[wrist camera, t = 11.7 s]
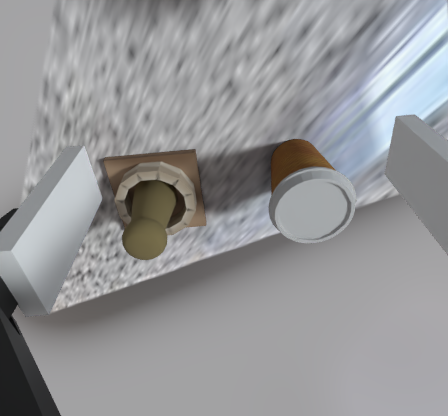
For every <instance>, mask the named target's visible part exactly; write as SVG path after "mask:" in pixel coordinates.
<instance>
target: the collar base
mask: <svg viewBox="0 0 448 416" xmlns="http://www.w3.org/2000/svg"><path fill="white" fill-rule="evenodd" d="M103 162H104V165H105V168H106V171H107V174H108V177H109V180H110V184H111V187H112V190H113V193H114V196H115V200H114V201H115V204H116V207H117V210H118V213H119V216H120V218H121V219H122V221H123V224H124V227H126V226H127V225H128V224H129V223H130V222H131V215H132V206H133V196H134V190H135V187H136V185H137V184H138V183H139V182H140V181H144V180H156V179H158V180H161V181H164V182H166V183H169V184H172V185H173V186H174V187H175V189H176V191H177V194H178V197H177V202H176V205H175V207H174V210H173V212H172V215H171V217H170V220H169V222H168V224H167V227H166V229H165V230H166V233H167V235H173V234H175V233H177V232H178V231H180V230H182V229H184V228H185V227H196V226H206V217H205V210H204V204H203V197H202V190H201V184H200V177H199V170H198V164H197V157H196V150H195V149H192V150H181V151H170V152H160V153H149V154H138V155H127V156H116V157H105V159H104V161H103Z"/></svg>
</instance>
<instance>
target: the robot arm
mask: <svg viewBox="0 0 448 416" xmlns="http://www.w3.org/2000/svg"><path fill="white" fill-rule="evenodd" d="M385 175H386V177H387V178H388V179H389V180H390V182H391V183H392V184H393V186H394V187H395V188H396V189H397V191H398V192H399V193H400V195H401V196H402V197H403V198H404V200H405V201H406V202H407V203H408V205H409V206H410V207H411V208H412V210H413V211H414V212H415V214H416V215H417V216H418V218H419V219H420V220H421V221H422V223H423V224H424V225H425V226H426V228H427V229H428V230H429V232H430V233H431V234H432V235H433V237H434V238H435V239H436V241H437V242H438V243H439V244H440V246H441V247H442V248H443V250H444V251H445V252H446V253H447V255H448V140H446V139H445V138H444V137H443V136H441V135H440V134H439V133H438V132H436V131H435V130H434V129H433V128H431V127H430V126H429V125H427V124H426V123H425V122H424V121H422V120H421V119H420V118H419V117H417V116H416V115H404V116H396V119H395V124H394V129H393V134H392V139H391V144H390V149H389V154H388V159H387V164H386V169H385ZM101 201H102V196H101V193H100V190H99V187H98V184H97V181H96V178H95V175H94V173H93V170H92V167H91V164H90V161H89V158H88V155H87V152H86V150H85V147H84V145H82V146H71V147H66V148H65V149H64V151H63V152H62V153H61V155H60V156H59V157H58V158H57V160H56V161H55V162H54V164H53V165H52V166H51V167H50V169H49V170H48V171H47V173H46V174H45V175H44V176H43V178H42V179H41V180H40V182H39V183H38V184H37V185H36V187H35V188H34V189H33V190H32V192H31V193H30V194H29V196H28V197H27V198H26V199H25V201H24V202H23V203H22V205H21V206H20V207H19V208H17V209H13V210H11V211H10V212H9V213H7V214H6V215H4V216H3V217H2V218H1V219H0V416H61V415H60V413H59V411H58V409H57V406H56V404H55V402H54V400H53V398H52V396H51V394H50V392H49V390H48V388H47V386H46V383H45V381H44V379H43V377H42V375H41V373H40V371H39V369H38V367H37V365H36V363H35V360H34V358H33V356H32V354H31V352H30V350H29V348H28V346H27V344H26V342H25V340H24V337H23V335H22V333H21V331H20V329H19V327H18V325H17V323H16V321H15V319H14V318H13V317H12V313H13V312H14V310H15V308H16V306H17V305H18V306H19V308H20V309H21V311H22V312H23V314H24V315H25V317H29V316H41V315H49V314H50V311H51V309H52V307H53V305H54V303H55V301H56V298H57V296H58V294H59V292H60V290H61V288H62V286H63V283H64V281H65V279H66V277H67V275H68V273H69V270H70V268H71V266H72V264H73V262H74V260H75V257H76V255H77V253H78V251H79V249H80V247H81V244H82V242H83V240H84V238H85V236H86V234H87V231H88V229H89V227H90V225H91V223H92V221H93V219H94V216H95V214H96V212H97V210H98V208H99V206H100V203H101Z"/></svg>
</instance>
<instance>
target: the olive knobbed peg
mask: <svg viewBox="0 0 448 416" xmlns="http://www.w3.org/2000/svg"><path fill="white" fill-rule="evenodd" d="M177 197H178V194H177V191H176V189H175V187H174V186H173V185H172V184H169V183H166V182H164V181H161V180H158V179H156V180H144V181H140V182H139V183H138V184H137V185H136V187H135V190H134V196H133V206H132V215H131V222H130V223H129V224H128V225H127V226H126V227H125V230H124V232H123V235H122V242H123V246H124V248H125V250H126V251H127V252H128V253H129V255H131V256H133V257H134V258H137V259H140V260H149V259H153V258H155V257H157V256H159V255H160V254H161V253H162V252H163V251H164V249H165V247H166V245H167V233H166V230H165V229H166V227H167V224H168V222H169V220H170V217H171V215H172V212H173V210H174V207H175V205H176V202H177Z"/></svg>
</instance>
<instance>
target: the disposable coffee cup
mask: <svg viewBox="0 0 448 416" xmlns="http://www.w3.org/2000/svg"><path fill="white" fill-rule="evenodd" d="M271 189H272V190H271V192H272V196H271V199H270V202H269V215H270V219H271V221H272V223H273V225H274V226H275V227H276V228H277V229H278V230H279V231H280V232H281V233H282V234H283V235H284V236H286V237H287V238H289V239H291V240H294V241H296V242H301V243H317V242H321V241H324V240H327V239H330V238H332V237H334V236H335V235H337V234H339V233H340V232H341V231H342V230H343V229H345V228H346V226H347V225H348V224H349V223H350V221H351V219H352V217H353V215H354V211H355V203H356V193H355V189H354V187H353V185H352V183H351V182H350V181H349V179H348V178H347V177H345V176H344V175H343V174H341V173H340V172H338V171H336V170H335V169H334V168H333V167H332V166H331V165H330V164H329V163H328V161H326V159H325V158H324V157H323V156H322V155H321V154H320V153H319V152H318V150H317V149H316V148H315V147H314V146H313V145H312V144H311V143H309V142H308V141H305V140H301V139H293V140H289V141H286V142H284V143H283V144H281V145H280V146H279V147H278V148H277V149H276V150H275V151H274V153H273V155H272V159H271Z"/></svg>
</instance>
